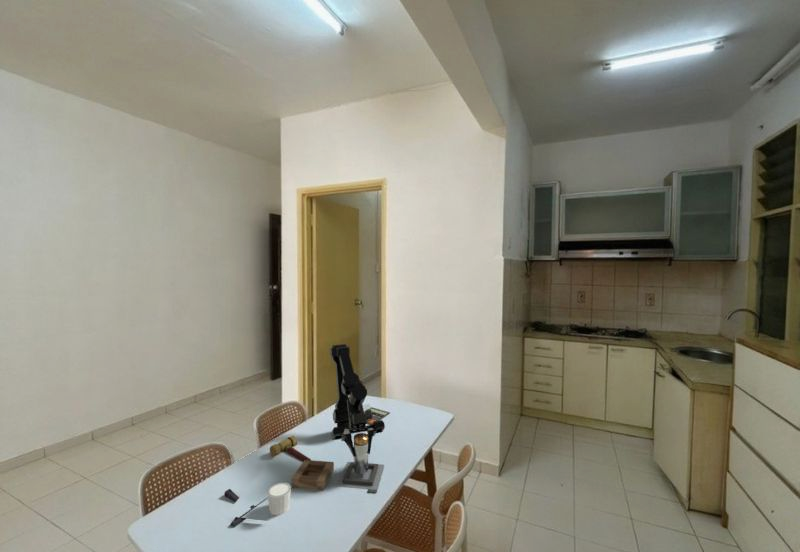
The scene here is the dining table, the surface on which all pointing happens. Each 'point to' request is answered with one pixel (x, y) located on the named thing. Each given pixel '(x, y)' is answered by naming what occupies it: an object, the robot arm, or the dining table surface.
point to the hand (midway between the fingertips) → (361, 455)
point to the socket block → (313, 475)
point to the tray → (361, 477)
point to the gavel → (288, 448)
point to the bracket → (234, 497)
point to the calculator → (377, 415)
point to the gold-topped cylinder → (361, 453)
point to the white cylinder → (279, 498)
